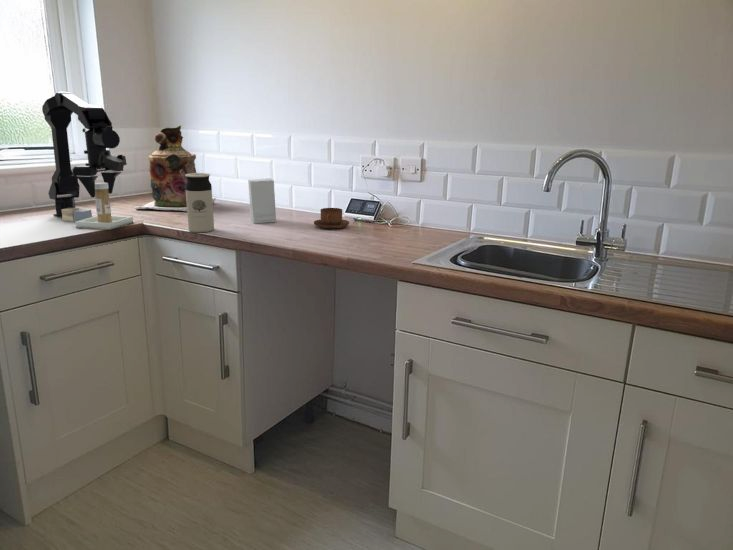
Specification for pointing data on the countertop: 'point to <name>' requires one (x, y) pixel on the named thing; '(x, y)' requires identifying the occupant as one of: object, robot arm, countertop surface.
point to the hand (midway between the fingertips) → (101, 195)
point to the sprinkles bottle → (102, 202)
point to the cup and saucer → (331, 219)
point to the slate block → (82, 214)
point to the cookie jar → (170, 172)
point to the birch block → (68, 214)
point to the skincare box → (262, 200)
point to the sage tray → (94, 223)
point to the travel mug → (199, 202)
